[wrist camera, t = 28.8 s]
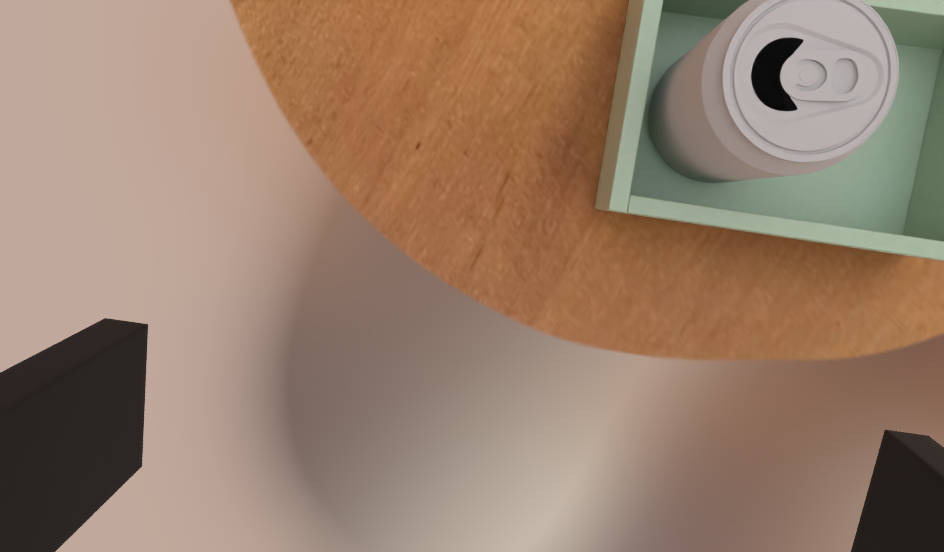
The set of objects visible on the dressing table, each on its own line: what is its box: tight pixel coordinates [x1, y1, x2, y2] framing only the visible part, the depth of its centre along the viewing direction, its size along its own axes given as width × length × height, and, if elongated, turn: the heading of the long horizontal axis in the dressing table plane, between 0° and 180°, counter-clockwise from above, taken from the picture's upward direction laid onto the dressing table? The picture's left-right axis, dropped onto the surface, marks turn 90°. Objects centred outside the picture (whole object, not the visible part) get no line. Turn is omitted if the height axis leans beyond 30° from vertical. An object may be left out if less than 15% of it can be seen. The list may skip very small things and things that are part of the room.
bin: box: [595, 0, 944, 261], centre depth 34 cm, size 16×11×6 cm
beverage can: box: [649, 0, 899, 183], centre depth 30 cm, size 6×6×12 cm
